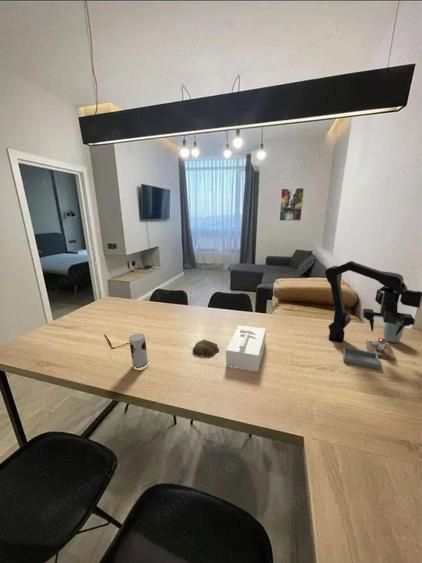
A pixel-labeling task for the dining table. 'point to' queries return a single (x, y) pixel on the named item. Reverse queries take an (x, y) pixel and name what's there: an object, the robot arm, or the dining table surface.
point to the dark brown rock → (205, 348)
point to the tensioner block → (373, 347)
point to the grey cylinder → (138, 350)
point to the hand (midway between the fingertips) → (383, 333)
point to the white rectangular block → (246, 348)
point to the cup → (392, 332)
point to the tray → (361, 358)
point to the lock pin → (381, 345)
